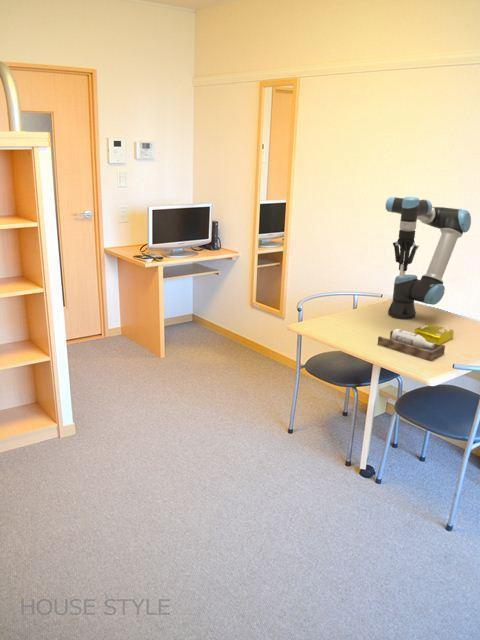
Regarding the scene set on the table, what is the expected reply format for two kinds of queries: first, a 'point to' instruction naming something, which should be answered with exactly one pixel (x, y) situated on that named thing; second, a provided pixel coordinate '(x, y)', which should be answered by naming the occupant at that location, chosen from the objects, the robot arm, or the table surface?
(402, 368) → the table surface
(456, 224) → the robot arm
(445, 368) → the table surface
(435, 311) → the table surface
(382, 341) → the brown wooden tray
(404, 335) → the bath foam
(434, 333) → the element tile
